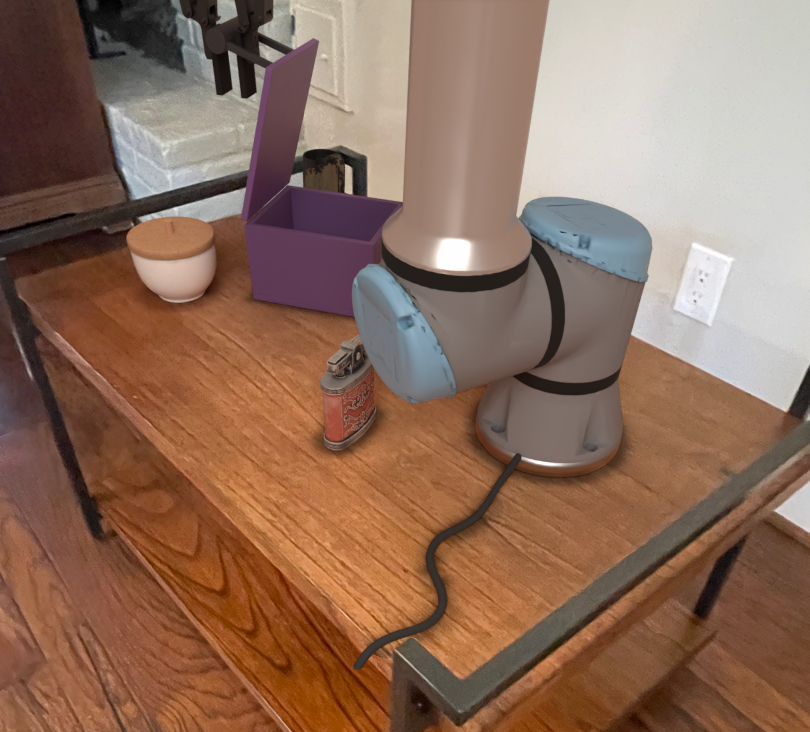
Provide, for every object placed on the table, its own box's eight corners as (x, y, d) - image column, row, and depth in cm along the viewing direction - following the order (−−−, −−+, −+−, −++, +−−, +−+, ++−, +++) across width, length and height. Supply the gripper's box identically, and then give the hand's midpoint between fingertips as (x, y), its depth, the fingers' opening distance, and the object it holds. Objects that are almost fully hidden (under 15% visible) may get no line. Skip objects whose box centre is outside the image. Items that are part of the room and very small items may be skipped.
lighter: (356, 404, 83) (354, 322, 76) (383, 413, 82) (383, 331, 75) (316, 443, 78) (310, 359, 71) (344, 454, 77) (341, 369, 70)
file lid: (319, 40, 88) (247, 5, 87) (272, 70, 79) (191, 30, 78) (289, 182, 101) (226, 152, 100) (246, 222, 91) (176, 189, 91)
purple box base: (403, 273, 105) (405, 202, 98) (373, 320, 96) (373, 245, 89) (293, 255, 108) (287, 184, 101) (253, 299, 99) (244, 224, 92)
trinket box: (214, 313, 96) (202, 240, 89) (130, 310, 96) (111, 237, 89) (229, 274, 103) (219, 204, 97) (151, 271, 103) (136, 201, 97)
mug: (298, 230, 114) (291, 145, 105) (328, 221, 116) (324, 137, 108) (328, 249, 110) (324, 162, 101) (358, 239, 112) (357, 154, 104)
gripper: (295, -183, 72) (310, 92, 89) (151, -190, 75) (192, 77, 92) (263, -180, 67) (285, 110, 84) (110, -189, 70) (161, 94, 87)
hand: (236, 93), depth 88 cm, fingers closed on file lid, 2 cm apart
